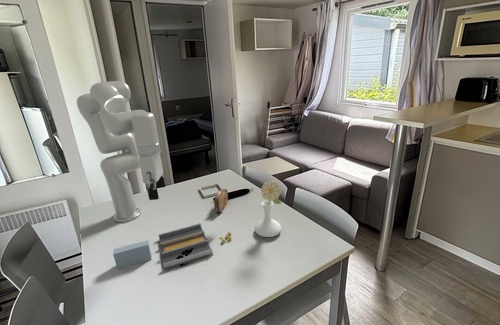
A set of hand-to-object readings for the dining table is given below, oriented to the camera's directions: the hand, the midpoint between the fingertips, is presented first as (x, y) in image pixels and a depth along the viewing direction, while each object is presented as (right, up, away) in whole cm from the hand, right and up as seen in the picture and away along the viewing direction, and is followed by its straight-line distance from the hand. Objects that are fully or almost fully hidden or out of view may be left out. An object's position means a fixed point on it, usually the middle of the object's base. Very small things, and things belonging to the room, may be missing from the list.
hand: (157, 193), depth 98 cm
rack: (+8, -23, +10) cm, 26 cm away
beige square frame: (+12, -6, +55) cm, 57 cm away
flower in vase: (+42, -19, +16) cm, 49 cm away
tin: (+20, -12, +38) cm, 44 cm away
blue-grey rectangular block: (-10, -27, +3) cm, 29 cm away
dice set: (+24, -22, +14) cm, 35 cm away
